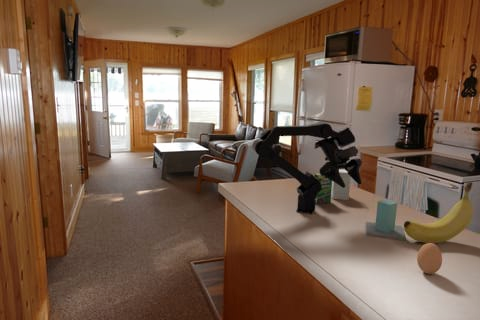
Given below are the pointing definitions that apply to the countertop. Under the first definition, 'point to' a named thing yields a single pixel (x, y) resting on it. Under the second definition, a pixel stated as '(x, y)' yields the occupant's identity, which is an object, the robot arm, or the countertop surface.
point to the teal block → (386, 216)
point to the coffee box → (324, 189)
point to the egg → (429, 258)
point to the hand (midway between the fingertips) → (352, 185)
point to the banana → (443, 223)
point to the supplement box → (339, 191)
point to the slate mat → (394, 234)
